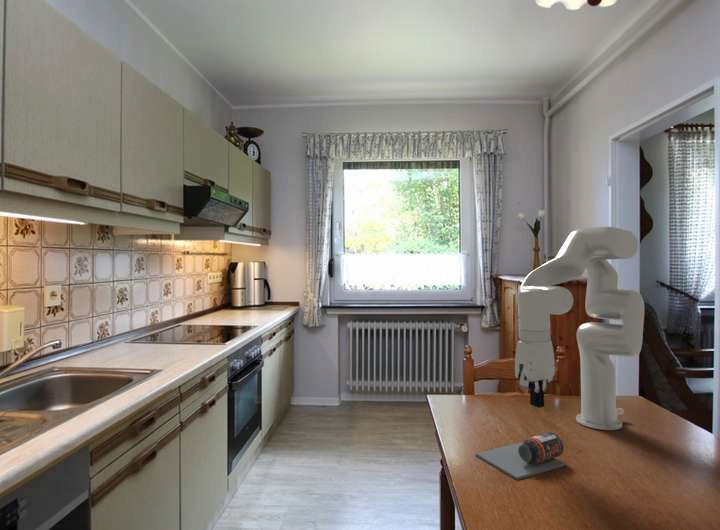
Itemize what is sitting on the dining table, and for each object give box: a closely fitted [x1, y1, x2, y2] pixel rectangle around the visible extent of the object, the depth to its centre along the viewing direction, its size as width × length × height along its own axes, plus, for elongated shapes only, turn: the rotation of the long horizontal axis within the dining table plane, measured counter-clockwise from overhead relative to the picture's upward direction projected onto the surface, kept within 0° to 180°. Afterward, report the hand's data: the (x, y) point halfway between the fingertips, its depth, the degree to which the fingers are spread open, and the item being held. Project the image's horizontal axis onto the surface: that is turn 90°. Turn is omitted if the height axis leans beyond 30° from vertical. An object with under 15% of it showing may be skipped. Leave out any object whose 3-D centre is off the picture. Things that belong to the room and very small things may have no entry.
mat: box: [475, 441, 566, 481], centre depth 105 cm, size 16×14×1 cm
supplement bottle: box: [518, 431, 565, 464], centre depth 104 cm, size 6×6×11 cm
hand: (537, 405), depth 108 cm, fingers closed
